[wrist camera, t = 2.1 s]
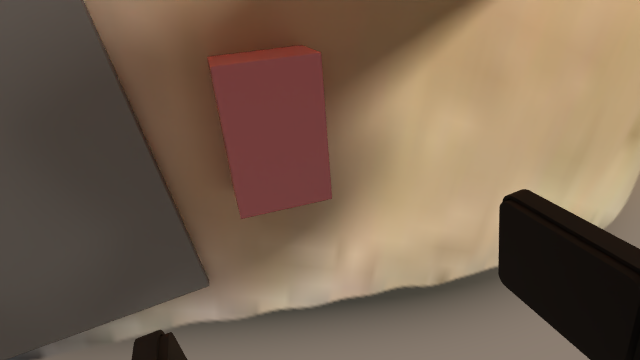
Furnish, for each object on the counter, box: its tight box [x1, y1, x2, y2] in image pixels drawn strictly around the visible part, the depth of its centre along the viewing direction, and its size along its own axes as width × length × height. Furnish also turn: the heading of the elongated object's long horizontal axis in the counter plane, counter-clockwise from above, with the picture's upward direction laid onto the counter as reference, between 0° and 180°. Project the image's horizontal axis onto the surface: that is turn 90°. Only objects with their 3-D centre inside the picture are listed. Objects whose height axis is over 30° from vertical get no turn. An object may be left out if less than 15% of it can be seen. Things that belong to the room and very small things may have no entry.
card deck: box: [207, 45, 332, 219], centre depth 23 cm, size 6×8×4 cm, turn 5°
